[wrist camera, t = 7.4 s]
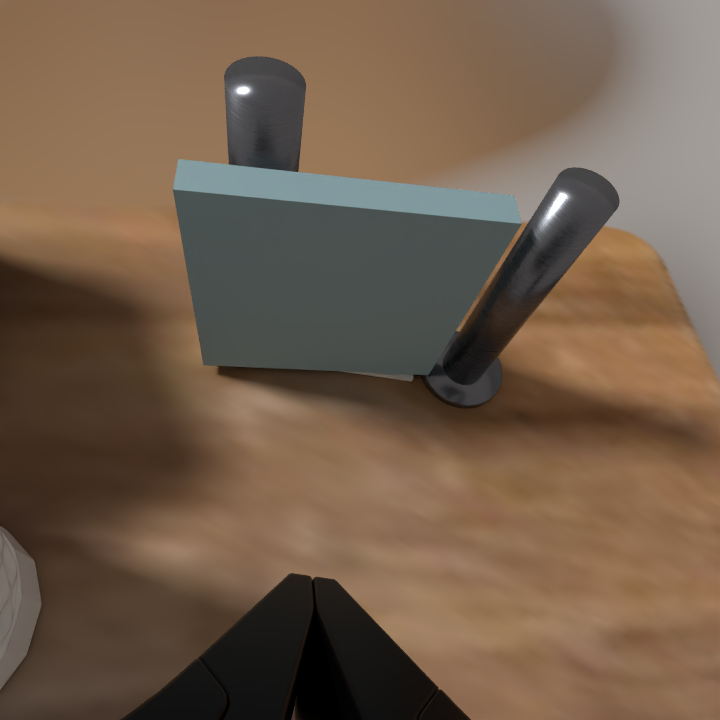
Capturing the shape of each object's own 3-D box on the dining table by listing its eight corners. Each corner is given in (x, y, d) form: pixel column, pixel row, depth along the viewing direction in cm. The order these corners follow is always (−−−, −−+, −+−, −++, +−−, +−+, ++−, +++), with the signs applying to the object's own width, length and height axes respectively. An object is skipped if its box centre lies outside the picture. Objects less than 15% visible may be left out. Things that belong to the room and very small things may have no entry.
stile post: (307, 306, 26) (340, 90, 16) (259, 343, 24) (262, 130, 15) (263, 267, 27) (268, 37, 17) (213, 301, 25) (186, 70, 15)
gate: (425, 353, 25) (514, 195, 17) (428, 375, 25) (521, 223, 16) (206, 341, 23) (178, 159, 15) (203, 365, 23) (173, 189, 14)
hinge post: (513, 372, 26) (670, 199, 16) (468, 424, 24) (615, 264, 14) (451, 322, 27) (565, 128, 17) (403, 368, 25) (500, 181, 15)
